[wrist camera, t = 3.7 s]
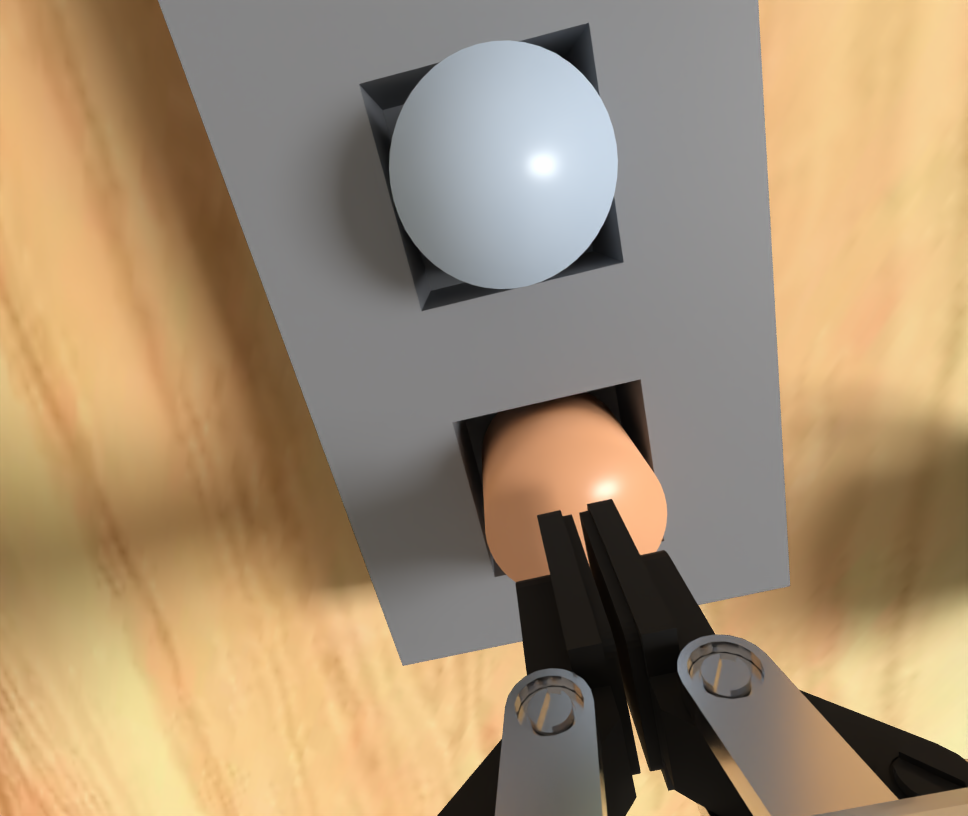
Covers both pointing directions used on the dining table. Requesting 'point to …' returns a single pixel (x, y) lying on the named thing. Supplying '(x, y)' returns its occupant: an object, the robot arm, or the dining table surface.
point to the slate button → (503, 164)
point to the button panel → (509, 312)
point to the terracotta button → (562, 479)
